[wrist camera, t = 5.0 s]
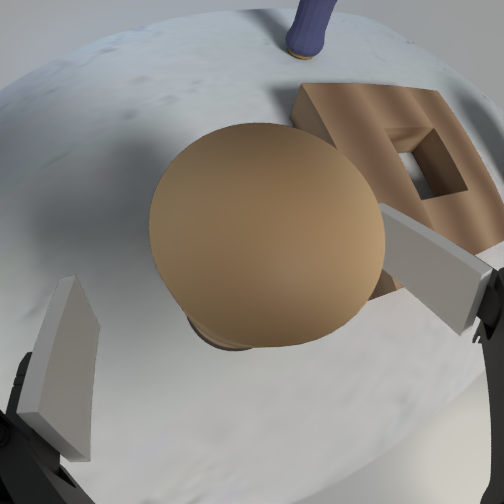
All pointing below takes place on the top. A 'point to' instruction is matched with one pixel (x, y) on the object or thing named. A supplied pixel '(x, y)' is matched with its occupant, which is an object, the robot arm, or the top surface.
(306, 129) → the walnut socket block
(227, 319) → the oak peg
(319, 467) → the top surface
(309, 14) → the rubber mallet
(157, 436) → the top surface
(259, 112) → the top surface
